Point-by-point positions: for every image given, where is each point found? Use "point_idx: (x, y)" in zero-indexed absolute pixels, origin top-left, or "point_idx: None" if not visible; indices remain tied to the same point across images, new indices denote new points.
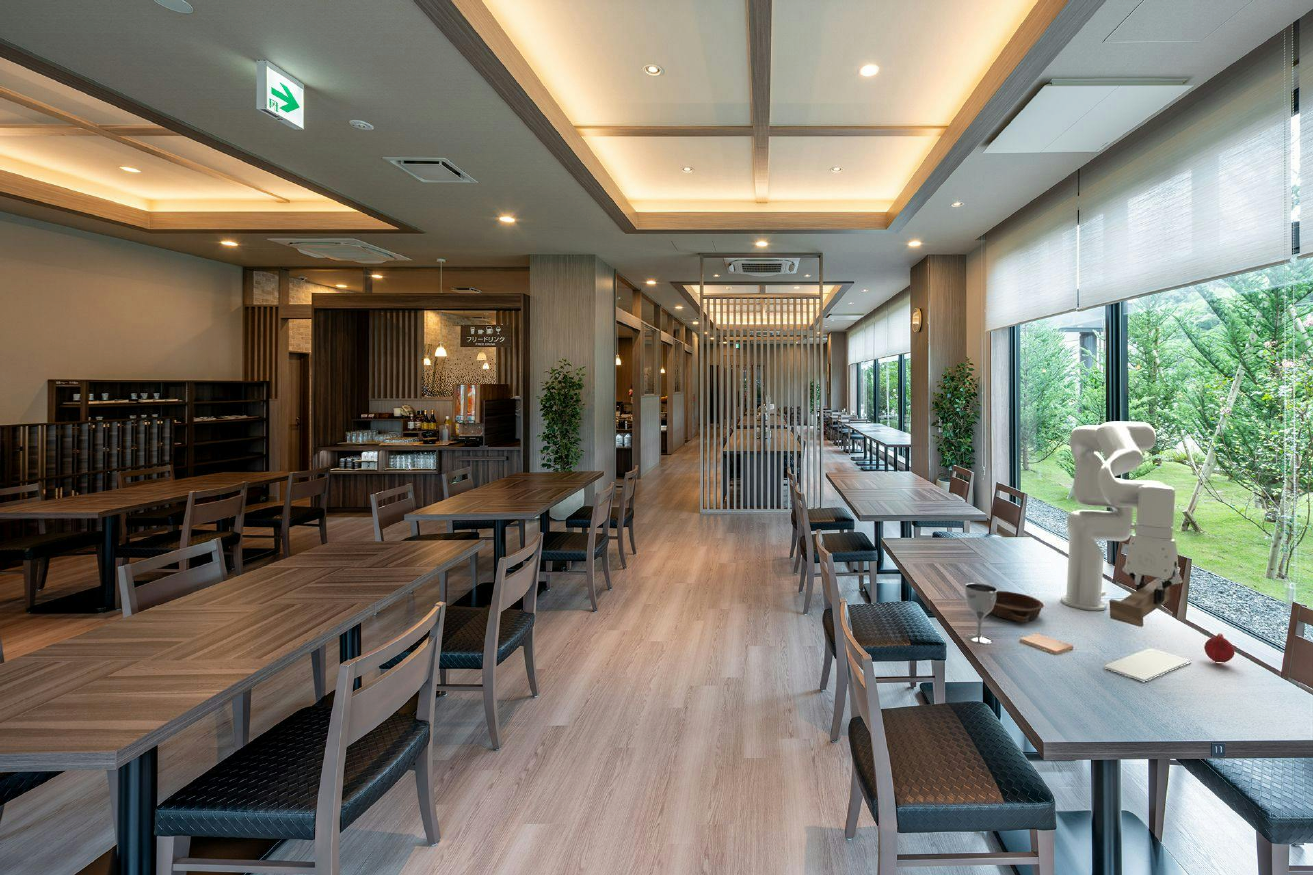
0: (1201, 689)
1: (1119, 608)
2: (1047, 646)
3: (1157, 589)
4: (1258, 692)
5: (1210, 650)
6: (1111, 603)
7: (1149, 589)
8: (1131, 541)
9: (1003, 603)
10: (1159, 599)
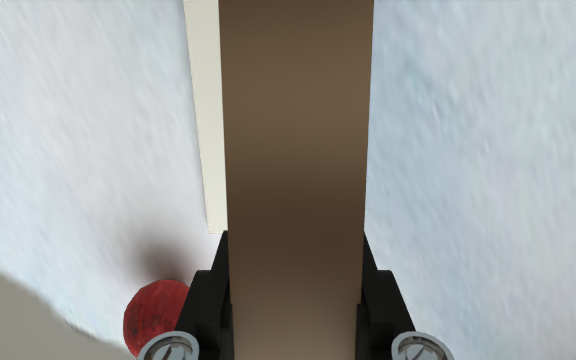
0: (63, 16)
1: None
2: None
3: (195, 327)
4: (5, 164)
5: (168, 291)
6: None
7: (284, 320)
8: None
9: None
10: (209, 273)
